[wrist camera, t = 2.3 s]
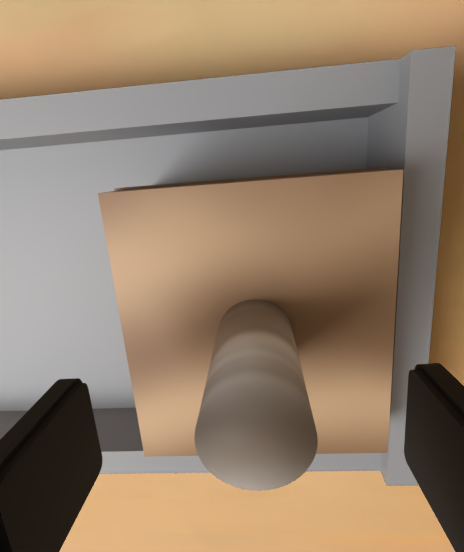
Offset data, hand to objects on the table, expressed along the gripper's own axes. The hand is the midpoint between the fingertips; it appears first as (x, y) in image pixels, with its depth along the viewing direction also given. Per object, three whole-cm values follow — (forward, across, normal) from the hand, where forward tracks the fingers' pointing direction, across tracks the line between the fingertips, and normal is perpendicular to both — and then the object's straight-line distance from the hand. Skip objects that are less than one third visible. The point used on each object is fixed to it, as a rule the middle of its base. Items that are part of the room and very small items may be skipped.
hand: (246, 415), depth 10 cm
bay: (+13, +7, -1) cm, 14 cm away
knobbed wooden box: (+11, 0, -1) cm, 11 cm away
